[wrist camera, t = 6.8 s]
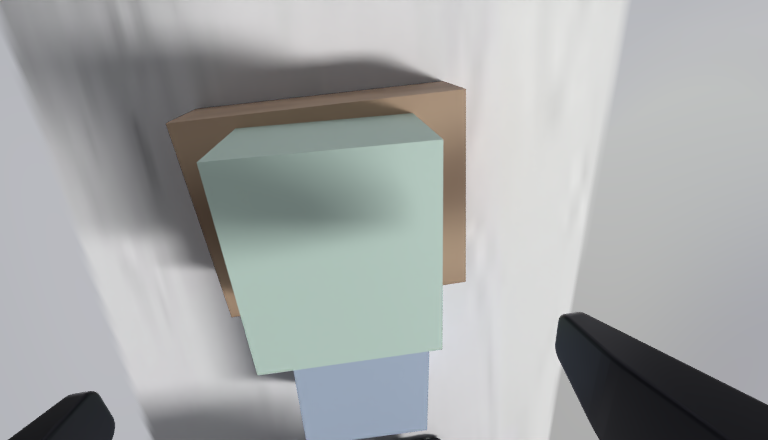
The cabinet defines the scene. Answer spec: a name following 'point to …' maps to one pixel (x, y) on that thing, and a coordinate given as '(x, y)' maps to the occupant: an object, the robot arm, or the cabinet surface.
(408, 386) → the slate block
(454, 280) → the walnut block
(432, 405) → the cabinet surface
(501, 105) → the cabinet surface
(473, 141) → the cabinet surface
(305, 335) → the sage block
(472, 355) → the cabinet surface
